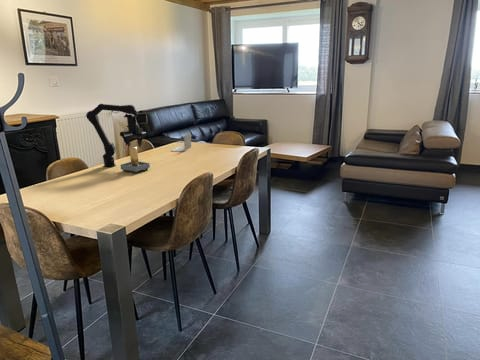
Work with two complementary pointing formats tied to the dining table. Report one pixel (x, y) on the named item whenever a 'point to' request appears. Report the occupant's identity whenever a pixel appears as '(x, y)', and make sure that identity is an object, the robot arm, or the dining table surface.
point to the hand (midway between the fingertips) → (134, 146)
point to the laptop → (186, 144)
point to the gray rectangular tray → (135, 169)
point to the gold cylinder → (134, 156)
